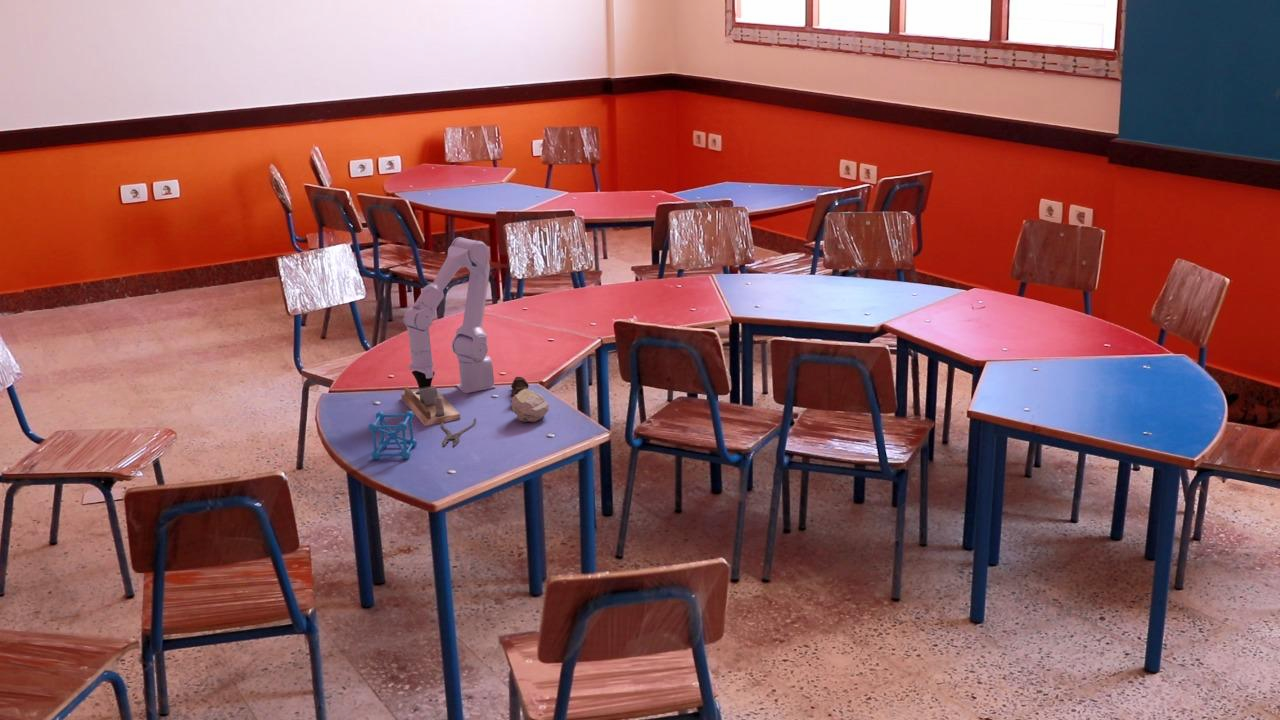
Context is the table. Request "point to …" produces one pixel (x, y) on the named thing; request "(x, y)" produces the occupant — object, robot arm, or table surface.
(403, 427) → the molecular structure
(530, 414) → the beige rock
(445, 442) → the pliers
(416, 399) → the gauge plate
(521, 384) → the bolt
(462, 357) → the robot arm
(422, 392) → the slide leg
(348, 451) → the table surface
